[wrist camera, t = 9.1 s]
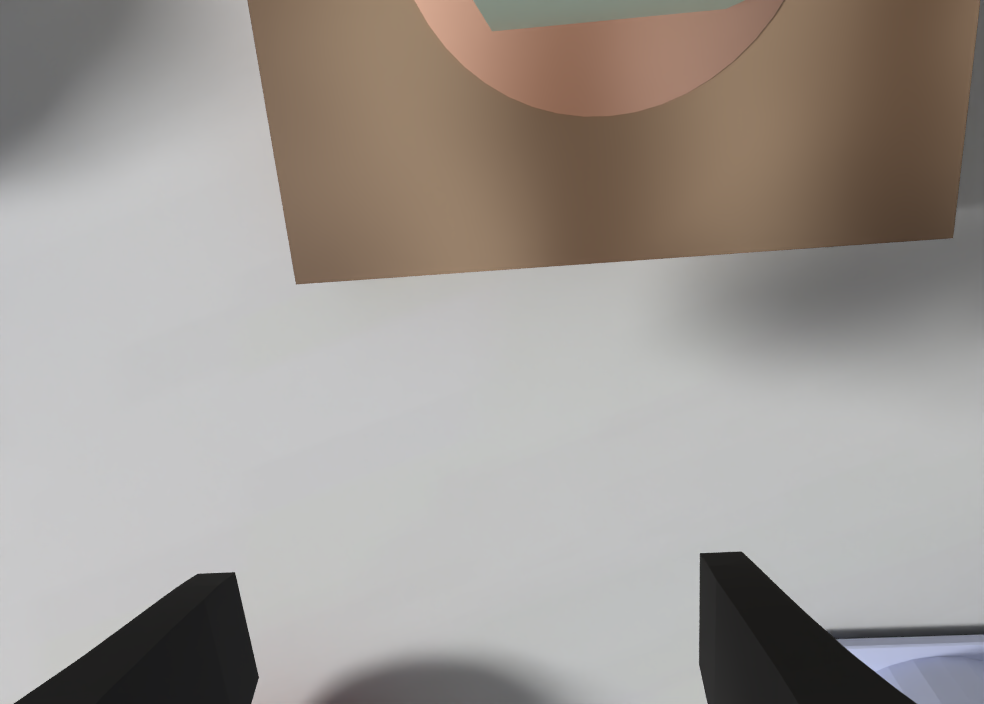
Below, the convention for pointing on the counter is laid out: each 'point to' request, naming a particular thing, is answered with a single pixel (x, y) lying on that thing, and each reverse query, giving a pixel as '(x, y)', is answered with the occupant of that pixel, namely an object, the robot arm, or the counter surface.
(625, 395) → the counter surface
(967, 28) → the walnut base
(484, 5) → the sage block
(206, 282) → the counter surface
